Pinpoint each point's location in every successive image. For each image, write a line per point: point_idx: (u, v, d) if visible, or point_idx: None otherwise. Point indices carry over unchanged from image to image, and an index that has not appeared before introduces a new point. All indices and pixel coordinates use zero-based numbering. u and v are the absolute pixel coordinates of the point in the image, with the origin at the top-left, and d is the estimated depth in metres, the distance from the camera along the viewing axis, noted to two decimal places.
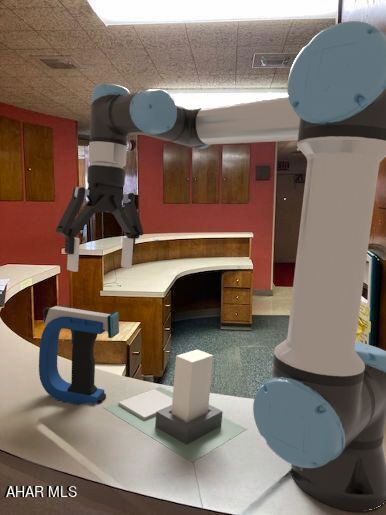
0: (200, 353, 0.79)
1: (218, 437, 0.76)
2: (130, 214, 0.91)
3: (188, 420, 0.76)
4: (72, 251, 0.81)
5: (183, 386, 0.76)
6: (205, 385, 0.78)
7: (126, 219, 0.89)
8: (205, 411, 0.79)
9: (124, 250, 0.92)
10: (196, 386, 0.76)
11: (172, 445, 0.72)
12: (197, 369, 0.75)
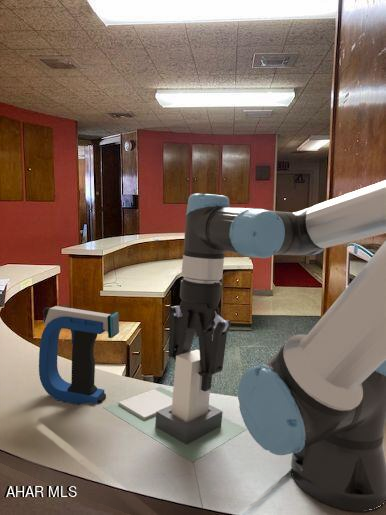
0: None
1: (218, 437, 0.76)
2: None
3: (188, 420, 0.76)
4: None
5: (183, 386, 0.76)
6: None
7: (202, 347, 0.75)
8: (205, 411, 0.79)
9: None
10: None
11: (172, 445, 0.72)
12: (197, 369, 0.75)
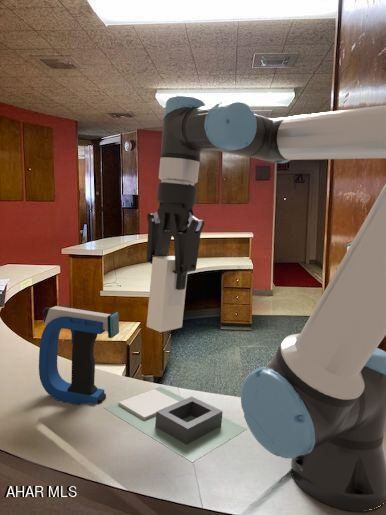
0: None
1: (218, 437, 0.76)
2: None
3: (163, 317, 0.79)
4: None
5: (159, 284, 0.79)
6: None
7: (177, 246, 0.78)
8: (180, 313, 0.83)
9: None
10: None
11: (172, 445, 0.72)
12: (172, 269, 0.79)
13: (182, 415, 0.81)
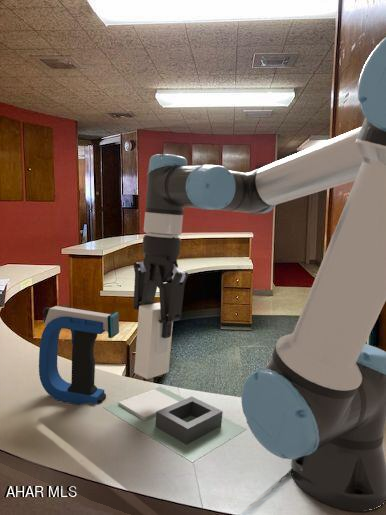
0: None
1: (218, 437, 0.76)
2: None
3: (149, 364, 0.82)
4: None
5: (145, 333, 0.82)
6: None
7: (162, 297, 0.81)
8: (167, 358, 0.86)
9: None
10: None
11: (172, 445, 0.72)
12: (157, 318, 0.82)
13: (182, 415, 0.81)
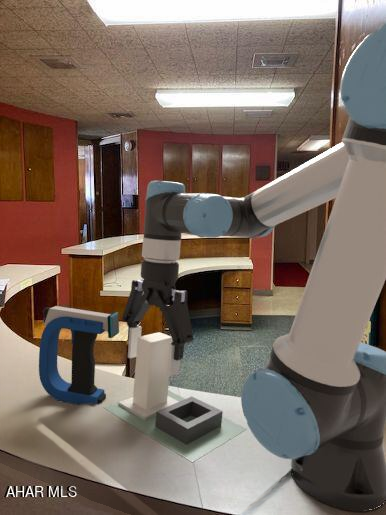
0: (161, 335, 0.86)
1: (218, 437, 0.76)
2: None
3: (148, 396, 0.83)
4: None
5: (144, 364, 0.83)
6: (165, 364, 0.85)
7: (168, 319, 0.80)
8: (165, 388, 0.86)
9: None
10: (156, 365, 0.83)
11: (172, 445, 0.72)
12: (156, 349, 0.82)
13: (182, 415, 0.81)
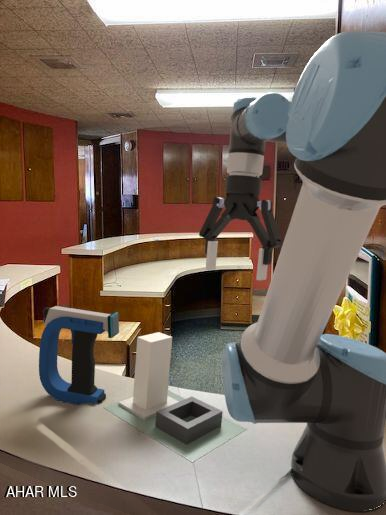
0: (161, 335, 0.86)
1: (218, 437, 0.76)
2: None
3: (148, 395, 0.83)
4: None
5: (144, 364, 0.83)
6: (164, 364, 0.85)
7: (256, 227, 0.85)
8: (165, 388, 0.86)
9: None
10: (155, 365, 0.83)
11: (172, 445, 0.72)
12: (156, 349, 0.82)
13: (182, 415, 0.81)
